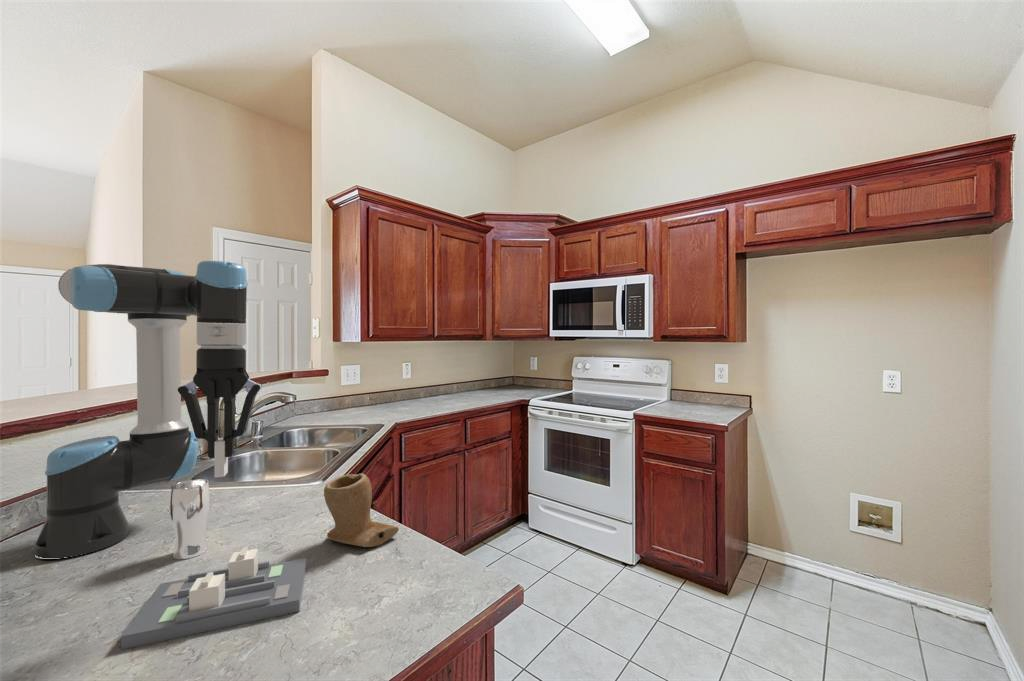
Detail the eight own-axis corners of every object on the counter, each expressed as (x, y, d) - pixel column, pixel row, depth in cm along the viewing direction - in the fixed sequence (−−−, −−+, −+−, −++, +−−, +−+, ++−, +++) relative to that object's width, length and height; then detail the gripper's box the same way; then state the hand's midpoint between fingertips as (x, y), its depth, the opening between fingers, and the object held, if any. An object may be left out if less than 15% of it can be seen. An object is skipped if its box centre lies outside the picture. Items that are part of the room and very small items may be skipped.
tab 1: (189, 616, 68) (189, 586, 68) (197, 602, 72) (197, 573, 72) (218, 610, 70) (218, 581, 70) (225, 596, 73) (224, 568, 73)
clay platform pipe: (312, 545, 96) (312, 479, 96) (353, 524, 107) (353, 465, 107) (362, 560, 90) (361, 489, 90) (400, 537, 100) (400, 473, 100)
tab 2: (228, 584, 77) (228, 558, 77) (233, 573, 81) (233, 548, 81) (253, 580, 78) (253, 554, 78) (258, 569, 82) (257, 544, 82)
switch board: (121, 649, 64) (120, 629, 64) (160, 594, 78) (160, 577, 78) (299, 611, 73) (299, 593, 73) (306, 567, 87) (306, 553, 87)
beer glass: (217, 547, 95) (217, 480, 95) (184, 563, 89) (184, 491, 89) (196, 542, 98) (195, 477, 98) (162, 557, 91) (161, 487, 91)
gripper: (170, 347, 72) (170, 485, 73) (258, 348, 77) (257, 477, 77) (186, 346, 79) (185, 472, 80) (266, 346, 84) (265, 465, 84)
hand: (221, 474), depth 79 cm, fingers closed
